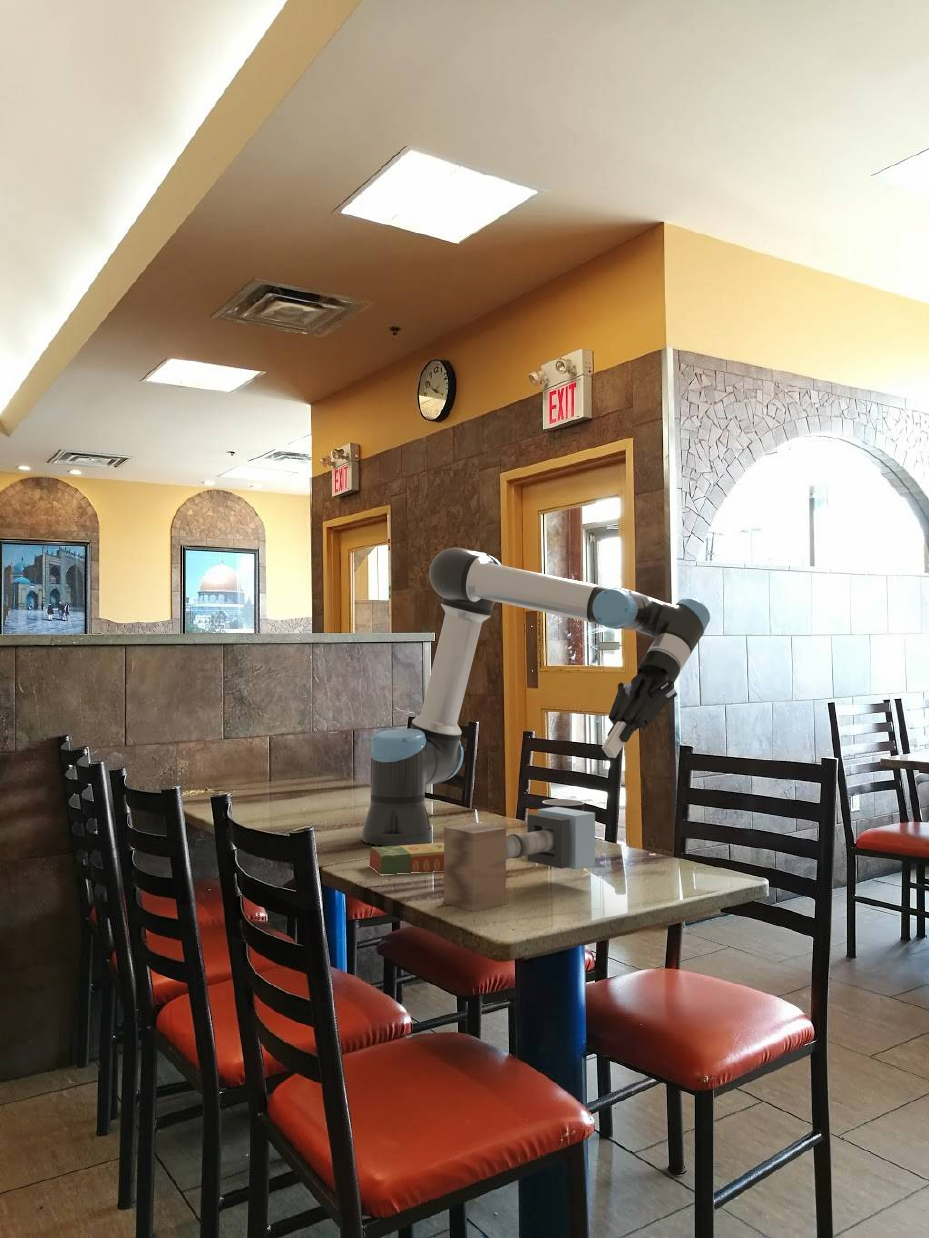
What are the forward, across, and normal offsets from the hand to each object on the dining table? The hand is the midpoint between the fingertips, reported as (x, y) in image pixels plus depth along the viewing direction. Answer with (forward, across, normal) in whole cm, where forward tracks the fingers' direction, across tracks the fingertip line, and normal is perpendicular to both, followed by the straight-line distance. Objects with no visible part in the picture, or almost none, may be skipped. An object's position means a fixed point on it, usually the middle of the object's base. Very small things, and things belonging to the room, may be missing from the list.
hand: (608, 752), depth 174 cm
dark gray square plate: (+24, 0, -1) cm, 24 cm away
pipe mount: (+31, 0, 0) cm, 31 cm away
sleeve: (+21, 0, -5) cm, 22 cm away
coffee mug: (+9, +20, -23) cm, 32 cm away
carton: (+33, +26, +1) cm, 42 cm away
